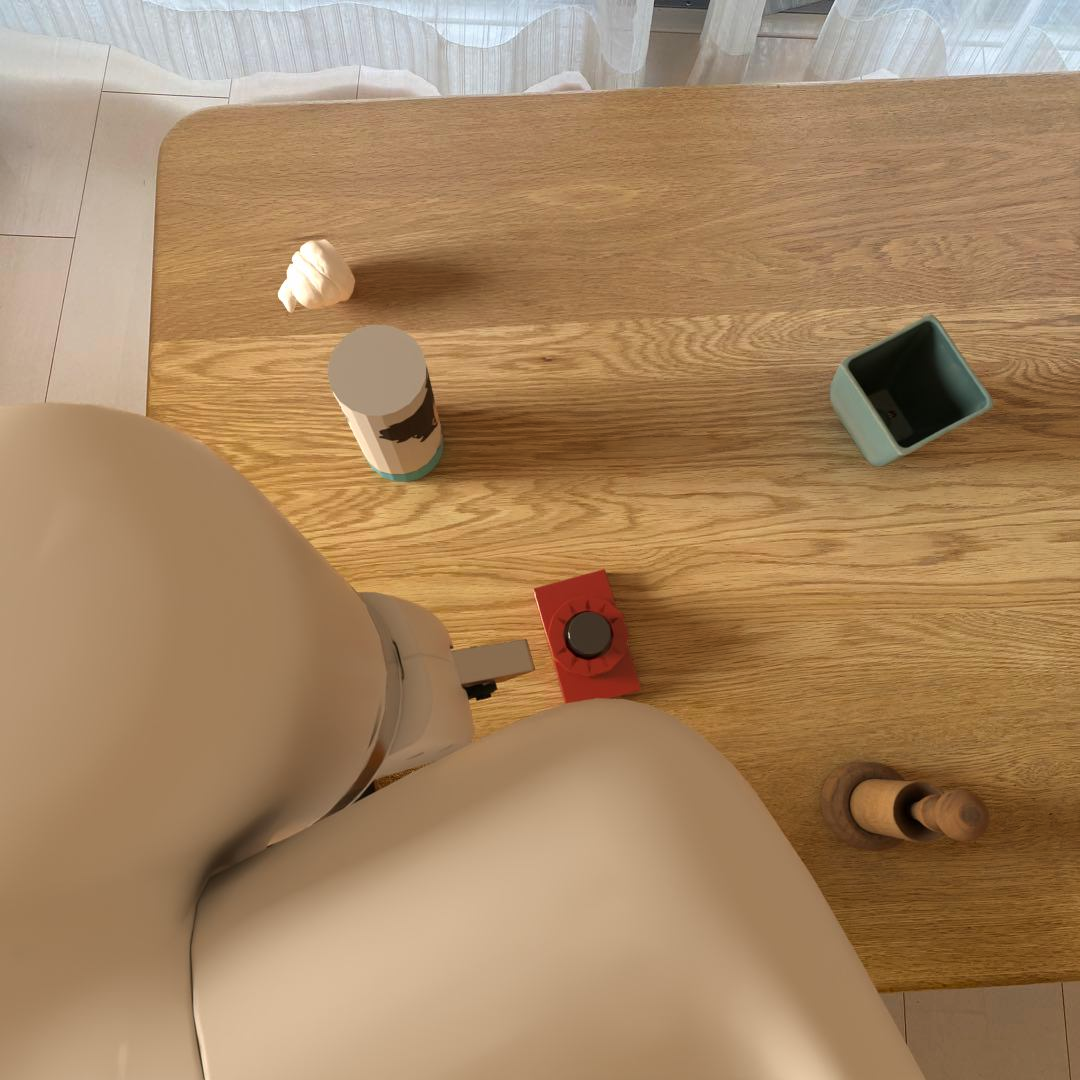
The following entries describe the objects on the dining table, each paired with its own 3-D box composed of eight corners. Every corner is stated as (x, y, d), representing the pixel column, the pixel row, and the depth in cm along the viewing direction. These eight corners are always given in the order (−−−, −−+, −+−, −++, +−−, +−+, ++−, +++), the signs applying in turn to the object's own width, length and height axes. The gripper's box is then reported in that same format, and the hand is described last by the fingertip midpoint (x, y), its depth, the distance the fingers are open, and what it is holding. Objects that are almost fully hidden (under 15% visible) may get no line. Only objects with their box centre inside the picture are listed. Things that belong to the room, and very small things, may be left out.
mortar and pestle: (813, 836, 71) (908, 858, 54) (827, 752, 73) (924, 747, 55) (898, 858, 71) (1022, 887, 54) (910, 773, 73) (1035, 774, 55)
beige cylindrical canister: (460, 445, 78) (446, 372, 64) (400, 498, 77) (372, 435, 62) (407, 390, 79) (382, 305, 65) (346, 441, 78) (307, 366, 64)
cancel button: (613, 650, 72) (616, 647, 70) (573, 661, 72) (575, 658, 70) (601, 610, 73) (603, 607, 71) (562, 621, 72) (563, 618, 71)
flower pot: (859, 492, 78) (902, 457, 69) (803, 405, 80) (838, 360, 71) (946, 445, 79) (998, 405, 70) (888, 360, 81) (933, 311, 72)
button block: (640, 690, 74) (645, 687, 71) (566, 712, 73) (568, 709, 70) (604, 571, 76) (607, 563, 73) (532, 591, 75) (532, 584, 73)
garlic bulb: (271, 296, 81) (253, 263, 76) (325, 256, 82) (312, 221, 77) (309, 340, 80) (294, 310, 75) (364, 299, 81) (353, 267, 76)
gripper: (-73, 943, 22) (183, 859, 40) (612, 744, 24) (569, 747, 42) (-112, 643, 24) (151, 689, 42) (534, 474, 26) (524, 587, 43)
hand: (359, 718), depth 41 cm, fingers closed on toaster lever, 6 cm apart
